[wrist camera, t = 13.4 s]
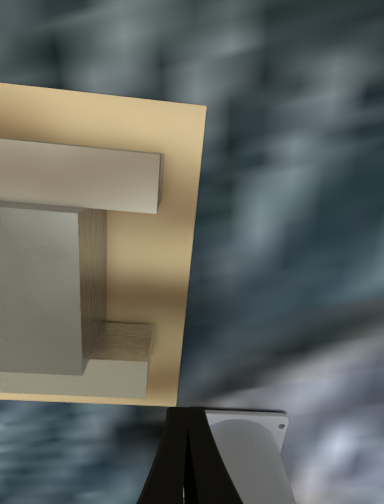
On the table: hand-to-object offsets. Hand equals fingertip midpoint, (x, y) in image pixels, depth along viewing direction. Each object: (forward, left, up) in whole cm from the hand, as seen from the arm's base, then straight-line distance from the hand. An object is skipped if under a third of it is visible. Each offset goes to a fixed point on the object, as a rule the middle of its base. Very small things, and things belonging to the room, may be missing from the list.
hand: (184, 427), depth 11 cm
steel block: (+3, +7, -8) cm, 11 cm away
